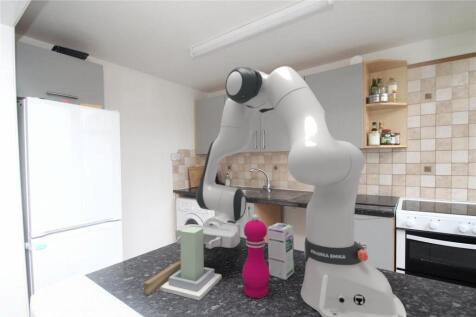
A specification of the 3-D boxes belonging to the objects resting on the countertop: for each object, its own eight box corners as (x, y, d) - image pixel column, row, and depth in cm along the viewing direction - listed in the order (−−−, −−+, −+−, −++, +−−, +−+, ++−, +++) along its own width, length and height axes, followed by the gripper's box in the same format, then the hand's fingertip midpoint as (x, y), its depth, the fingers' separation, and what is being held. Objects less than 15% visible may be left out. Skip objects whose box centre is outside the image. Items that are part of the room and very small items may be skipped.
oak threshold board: (183, 270, 75) (183, 260, 75) (148, 295, 61) (148, 283, 61) (179, 269, 76) (179, 260, 76) (143, 294, 62) (143, 282, 62)
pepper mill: (268, 300, 59) (267, 218, 59) (239, 297, 60) (238, 217, 60) (270, 285, 66) (270, 211, 66) (244, 283, 67) (243, 211, 67)
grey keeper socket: (221, 278, 70) (221, 267, 70) (199, 300, 59) (199, 288, 59) (186, 271, 75) (186, 261, 75) (160, 290, 64) (160, 279, 64)
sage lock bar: (203, 278, 68) (203, 228, 68) (195, 285, 64) (194, 233, 64) (190, 275, 70) (189, 226, 70) (180, 282, 66) (180, 231, 66)
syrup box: (286, 280, 68) (285, 229, 68) (268, 274, 72) (267, 225, 72) (294, 272, 73) (294, 224, 73) (277, 267, 77) (276, 221, 77)
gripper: (189, 217, 84) (163, 228, 72) (244, 223, 76) (225, 236, 64) (189, 235, 84) (163, 249, 72) (244, 243, 76) (225, 260, 64)
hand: (193, 243), depth 68 cm, fingers open, 8 cm apart
